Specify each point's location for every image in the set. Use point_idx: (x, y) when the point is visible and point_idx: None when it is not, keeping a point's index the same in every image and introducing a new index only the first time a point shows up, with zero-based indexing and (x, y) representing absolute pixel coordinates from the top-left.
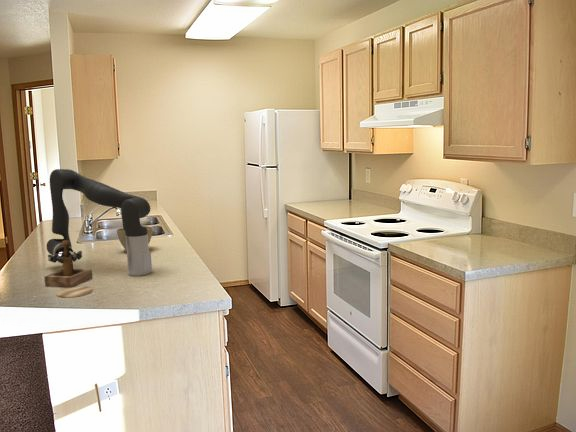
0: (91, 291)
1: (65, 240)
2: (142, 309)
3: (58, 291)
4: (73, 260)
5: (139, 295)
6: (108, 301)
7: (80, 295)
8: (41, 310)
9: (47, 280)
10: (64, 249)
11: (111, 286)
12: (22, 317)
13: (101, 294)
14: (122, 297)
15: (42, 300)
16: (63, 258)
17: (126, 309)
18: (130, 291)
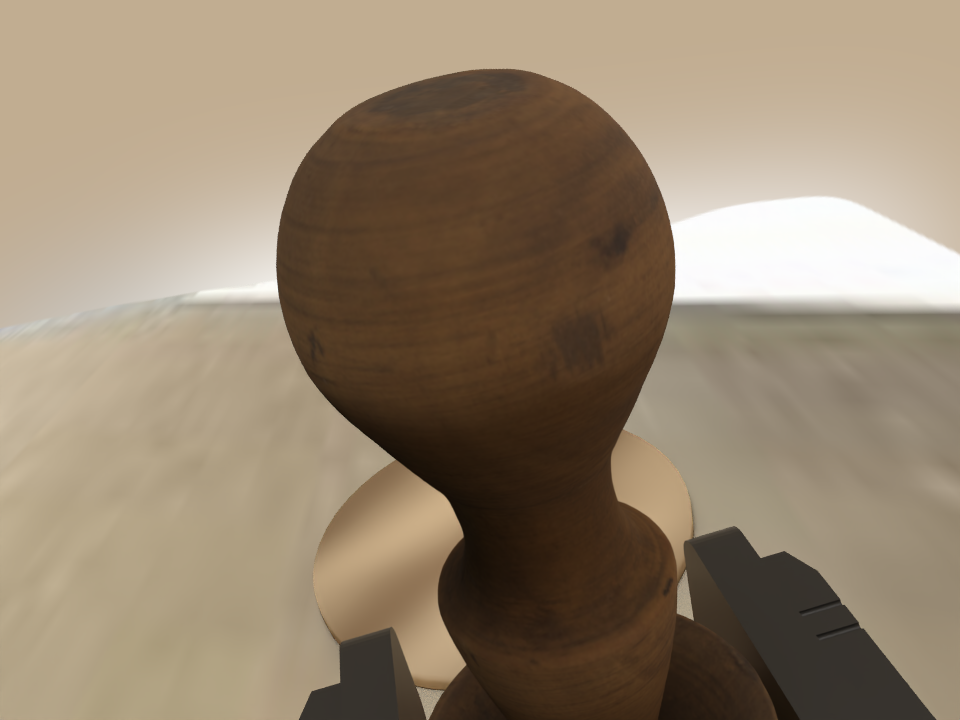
0: (341, 515)
1: (435, 82)
2: (171, 297)
3: (687, 533)
4: (418, 697)
5: (63, 432)
6: (275, 365)
7: None
8: (683, 275)
9: None
10: (611, 490)
11: (108, 664)
12: (756, 220)
13: (278, 469)
14: (172, 411)
15: (773, 394)
16: (686, 639)
17: (232, 295)
18: (57, 503)
